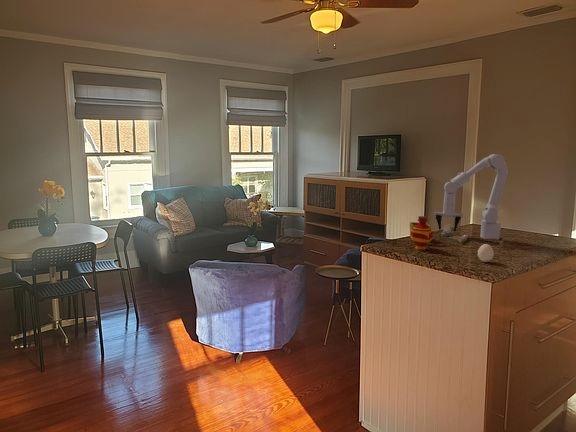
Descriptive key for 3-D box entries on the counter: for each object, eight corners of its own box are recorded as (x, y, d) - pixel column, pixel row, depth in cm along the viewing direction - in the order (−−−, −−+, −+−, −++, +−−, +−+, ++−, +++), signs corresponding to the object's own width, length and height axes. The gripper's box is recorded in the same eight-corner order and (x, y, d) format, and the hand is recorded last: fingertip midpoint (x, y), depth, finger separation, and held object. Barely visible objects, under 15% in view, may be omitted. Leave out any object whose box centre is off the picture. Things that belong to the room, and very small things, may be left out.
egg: (474, 261, 190) (475, 243, 188) (483, 259, 193) (484, 242, 191) (486, 264, 184) (488, 246, 183) (495, 262, 188) (497, 244, 186)
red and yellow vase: (432, 246, 215) (434, 215, 212) (431, 251, 205) (433, 219, 203) (409, 244, 218) (411, 214, 216) (408, 249, 209) (410, 217, 206)
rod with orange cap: (463, 236, 229) (464, 233, 229) (468, 236, 228) (468, 233, 228) (456, 240, 218) (457, 237, 218) (461, 241, 217) (461, 238, 217)
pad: (452, 234, 240) (452, 234, 240) (451, 236, 235) (451, 236, 235) (442, 233, 242) (442, 233, 242) (441, 235, 238) (441, 235, 237)
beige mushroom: (453, 234, 240) (454, 224, 239) (452, 236, 234) (453, 226, 233) (441, 233, 242) (442, 223, 241) (440, 235, 237) (441, 224, 236)
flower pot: (425, 239, 230) (427, 222, 229) (429, 243, 222) (430, 225, 220) (408, 239, 231) (409, 222, 230) (411, 242, 223) (412, 225, 221)
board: (470, 238, 236) (471, 234, 236) (465, 245, 219) (466, 241, 219) (443, 235, 243) (443, 231, 243) (436, 242, 225) (436, 237, 225)
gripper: (464, 204, 236) (462, 230, 238) (436, 202, 243) (434, 227, 245) (463, 206, 230) (461, 232, 232) (433, 204, 237) (432, 229, 239)
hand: (447, 230), depth 238 cm, fingers open, 7 cm apart
